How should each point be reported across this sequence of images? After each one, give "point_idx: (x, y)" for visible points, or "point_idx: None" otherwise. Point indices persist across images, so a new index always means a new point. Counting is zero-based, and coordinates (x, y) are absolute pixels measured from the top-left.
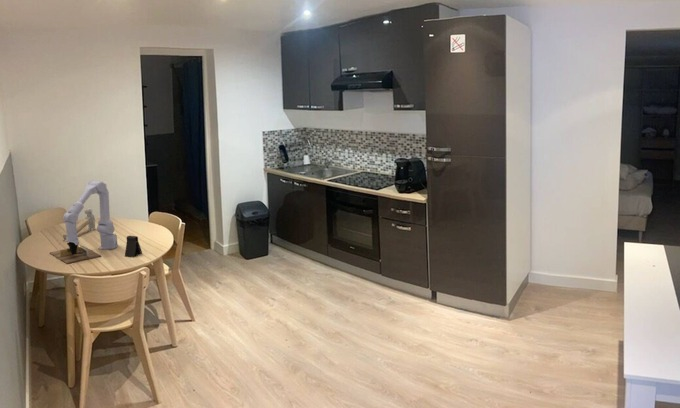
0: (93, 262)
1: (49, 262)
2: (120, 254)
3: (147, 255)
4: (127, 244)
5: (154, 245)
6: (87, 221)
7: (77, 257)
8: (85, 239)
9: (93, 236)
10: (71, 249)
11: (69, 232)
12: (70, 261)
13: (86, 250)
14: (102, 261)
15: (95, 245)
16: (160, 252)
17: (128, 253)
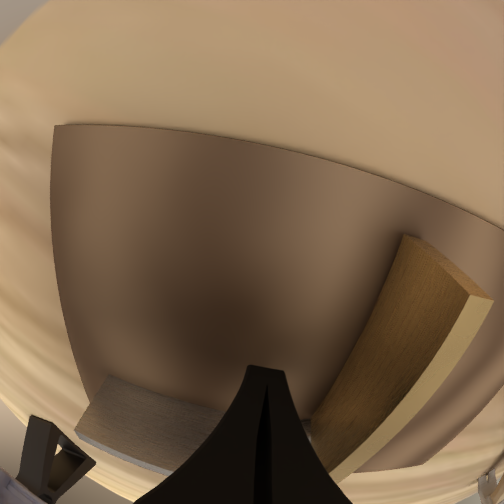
0: (9, 308)
1: (357, 13)
2: None
3: None
4: (39, 472)
5: None
6: (495, 499)
7: (165, 340)
8: (467, 466)
9: (453, 482)
10: (214, 430)
11: None
12: (69, 188)
13: (74, 429)
14: (12, 343)
15: (366, 487)
16: None
17: (39, 432)
